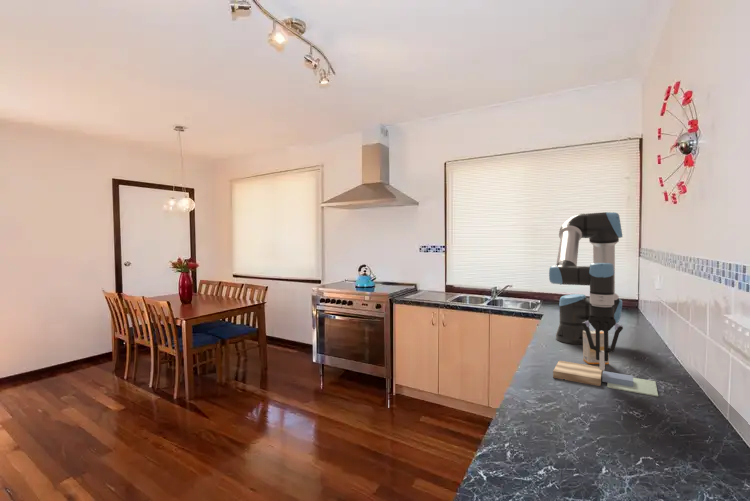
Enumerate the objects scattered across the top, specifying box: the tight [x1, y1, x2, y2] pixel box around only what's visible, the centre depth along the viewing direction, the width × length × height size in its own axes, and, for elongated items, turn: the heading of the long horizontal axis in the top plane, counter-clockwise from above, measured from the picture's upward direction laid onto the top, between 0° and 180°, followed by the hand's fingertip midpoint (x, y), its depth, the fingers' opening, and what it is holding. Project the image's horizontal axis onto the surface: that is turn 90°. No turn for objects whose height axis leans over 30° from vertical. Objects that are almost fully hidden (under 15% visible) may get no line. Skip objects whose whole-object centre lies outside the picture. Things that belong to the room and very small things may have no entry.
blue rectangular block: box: [601, 370, 634, 387], centre depth 128 cm, size 9×6×2 cm, turn 55°
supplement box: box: [582, 330, 610, 365], centre depth 149 cm, size 8×5×13 cm, turn 84°
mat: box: [606, 377, 659, 398], centre depth 126 cm, size 14×14×1 cm
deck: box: [552, 360, 603, 387], centre depth 136 cm, size 14×15×2 cm
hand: (602, 369), depth 131 cm, fingers closed
